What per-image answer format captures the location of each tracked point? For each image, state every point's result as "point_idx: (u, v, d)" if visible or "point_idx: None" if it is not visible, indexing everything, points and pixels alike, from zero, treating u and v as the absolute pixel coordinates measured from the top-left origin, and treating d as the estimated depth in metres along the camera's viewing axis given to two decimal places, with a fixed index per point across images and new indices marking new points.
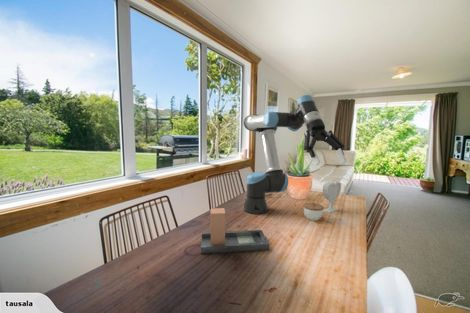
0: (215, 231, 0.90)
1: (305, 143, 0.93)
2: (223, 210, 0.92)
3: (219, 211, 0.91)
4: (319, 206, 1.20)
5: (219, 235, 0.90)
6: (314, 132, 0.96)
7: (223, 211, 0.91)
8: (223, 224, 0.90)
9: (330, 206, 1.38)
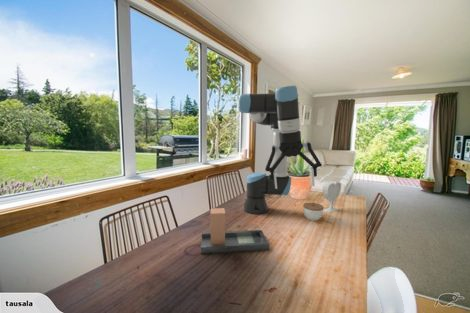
0: (215, 231, 0.90)
1: (267, 163, 0.81)
2: (223, 210, 0.92)
3: (219, 211, 0.91)
4: (319, 206, 1.20)
5: (219, 235, 0.90)
6: (282, 149, 0.78)
7: (223, 211, 0.91)
8: (223, 224, 0.90)
9: (330, 206, 1.38)
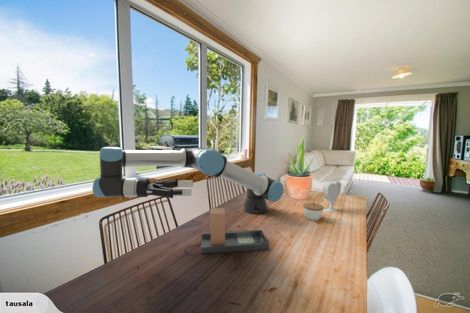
0: (215, 231, 0.90)
1: None
2: (223, 210, 0.92)
3: (219, 211, 0.91)
4: (319, 206, 1.20)
5: (219, 235, 0.90)
6: None
7: (223, 211, 0.91)
8: (223, 224, 0.90)
9: (330, 206, 1.38)
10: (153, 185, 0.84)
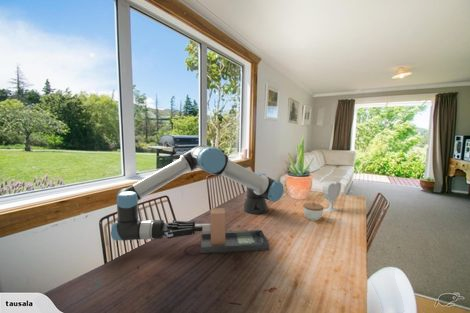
0: (215, 231, 0.90)
1: None
2: (223, 210, 0.92)
3: (219, 211, 0.91)
4: (319, 206, 1.20)
5: (220, 235, 0.90)
6: None
7: (223, 211, 0.91)
8: (223, 224, 0.90)
9: (330, 206, 1.38)
10: (169, 227, 0.88)
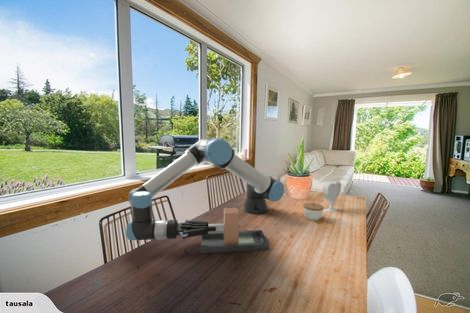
0: (229, 231, 0.90)
1: None
2: (236, 210, 0.93)
3: (232, 210, 0.92)
4: (319, 206, 1.20)
5: (233, 234, 0.91)
6: None
7: (236, 211, 0.92)
8: (237, 223, 0.90)
9: (330, 206, 1.38)
10: (183, 227, 0.89)
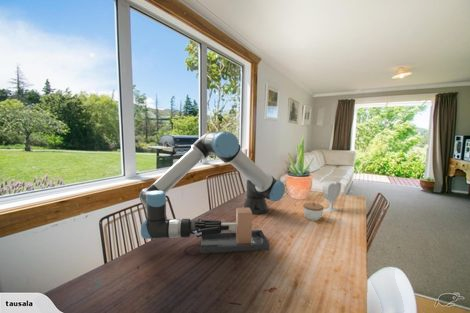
0: (242, 230, 0.91)
1: None
2: (249, 209, 0.94)
3: (245, 210, 0.93)
4: (319, 206, 1.20)
5: (246, 233, 0.91)
6: None
7: (249, 210, 0.92)
8: (250, 223, 0.91)
9: (330, 206, 1.38)
10: (196, 226, 0.89)
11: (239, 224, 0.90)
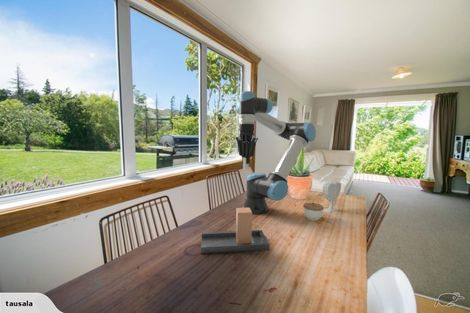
0: (242, 230, 0.91)
1: None
2: (249, 209, 0.94)
3: (245, 210, 0.93)
4: (319, 206, 1.20)
5: (246, 233, 0.91)
6: (240, 135, 1.09)
7: (249, 210, 0.92)
8: (250, 223, 0.91)
9: (330, 206, 1.38)
10: None
11: (239, 224, 0.90)
